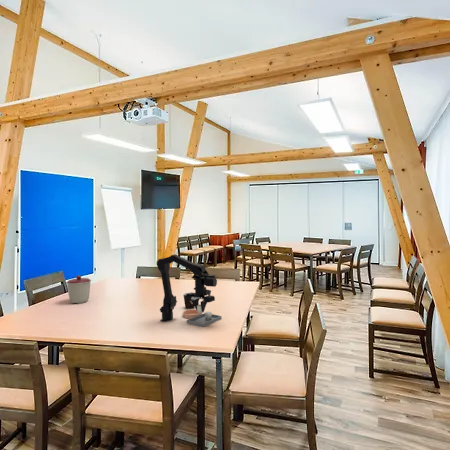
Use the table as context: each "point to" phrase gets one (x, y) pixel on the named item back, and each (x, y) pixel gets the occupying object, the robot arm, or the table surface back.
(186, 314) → the terracotta dish
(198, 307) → the pebble light
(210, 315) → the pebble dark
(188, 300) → the coffee mug
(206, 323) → the parts tray
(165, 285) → the robot arm
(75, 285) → the canister
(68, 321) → the table surface
